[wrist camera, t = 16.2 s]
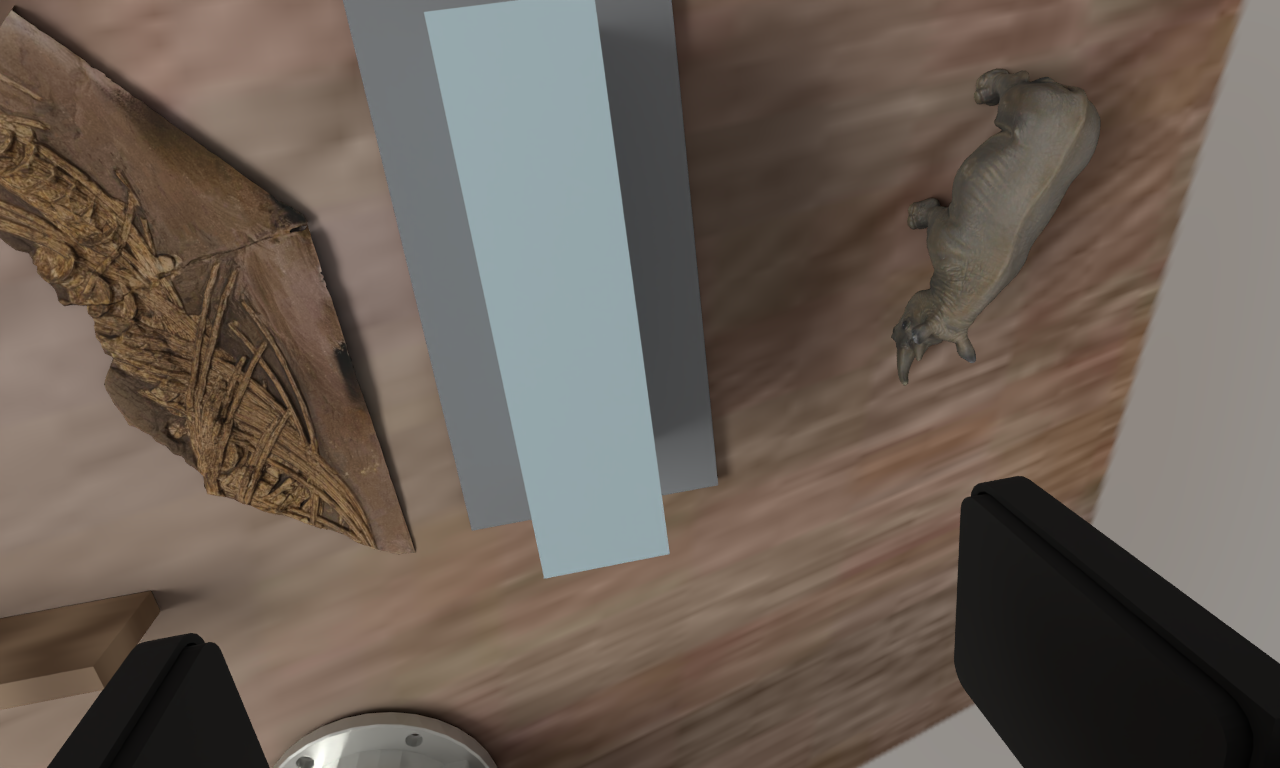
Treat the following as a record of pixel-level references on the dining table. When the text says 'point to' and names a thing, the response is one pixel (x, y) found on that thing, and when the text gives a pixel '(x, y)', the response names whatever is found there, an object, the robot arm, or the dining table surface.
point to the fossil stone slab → (190, 294)
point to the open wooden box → (69, 647)
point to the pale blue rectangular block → (555, 271)
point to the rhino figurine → (995, 207)
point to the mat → (447, 266)
